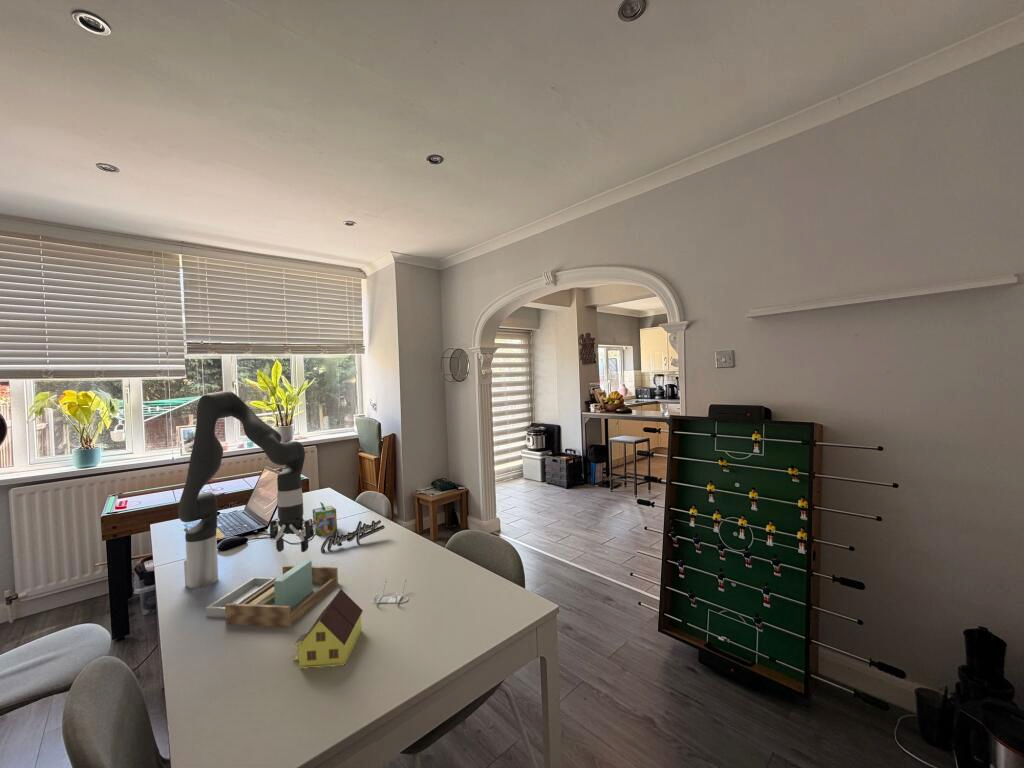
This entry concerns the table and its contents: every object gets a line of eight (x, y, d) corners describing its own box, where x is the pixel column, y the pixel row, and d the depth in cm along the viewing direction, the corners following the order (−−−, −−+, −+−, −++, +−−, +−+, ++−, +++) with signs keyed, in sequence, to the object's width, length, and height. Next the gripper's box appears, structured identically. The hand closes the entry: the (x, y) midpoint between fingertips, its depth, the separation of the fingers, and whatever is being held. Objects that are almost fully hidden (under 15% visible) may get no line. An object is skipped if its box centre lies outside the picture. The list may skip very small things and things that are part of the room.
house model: (278, 679, 104) (275, 628, 104) (310, 631, 124) (309, 588, 124) (352, 673, 106) (350, 623, 105) (373, 626, 126) (371, 584, 125)
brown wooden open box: (225, 624, 129) (224, 605, 129) (284, 581, 155) (284, 565, 155) (288, 627, 126) (288, 607, 126) (338, 583, 153) (337, 567, 152)
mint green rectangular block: (275, 615, 133) (273, 580, 133) (304, 591, 148) (303, 560, 148) (283, 615, 133) (282, 581, 132) (312, 591, 147) (311, 560, 147)
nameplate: (324, 560, 181) (317, 539, 179) (323, 559, 182) (317, 538, 181) (386, 532, 195) (380, 512, 193) (385, 531, 196) (379, 511, 195)
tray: (206, 617, 133) (205, 607, 133) (254, 585, 154) (254, 577, 153) (230, 618, 132) (230, 608, 132) (276, 586, 152) (275, 577, 152)
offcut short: (248, 609, 134) (248, 603, 134) (273, 592, 144) (273, 586, 144) (255, 609, 133) (255, 604, 133) (280, 592, 144) (280, 587, 144)
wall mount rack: (367, 607, 136) (367, 593, 136) (379, 591, 146) (378, 578, 146) (405, 606, 136) (404, 593, 135) (413, 590, 146) (413, 577, 146)
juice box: (337, 532, 205) (336, 502, 205) (317, 537, 200) (316, 506, 200) (332, 527, 213) (331, 498, 213) (313, 532, 207) (311, 502, 207)
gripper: (262, 505, 137) (265, 555, 137) (302, 505, 135) (305, 556, 135) (278, 499, 144) (280, 546, 145) (316, 499, 142) (319, 546, 143)
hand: (292, 551), depth 140 cm, fingers open, 8 cm apart
